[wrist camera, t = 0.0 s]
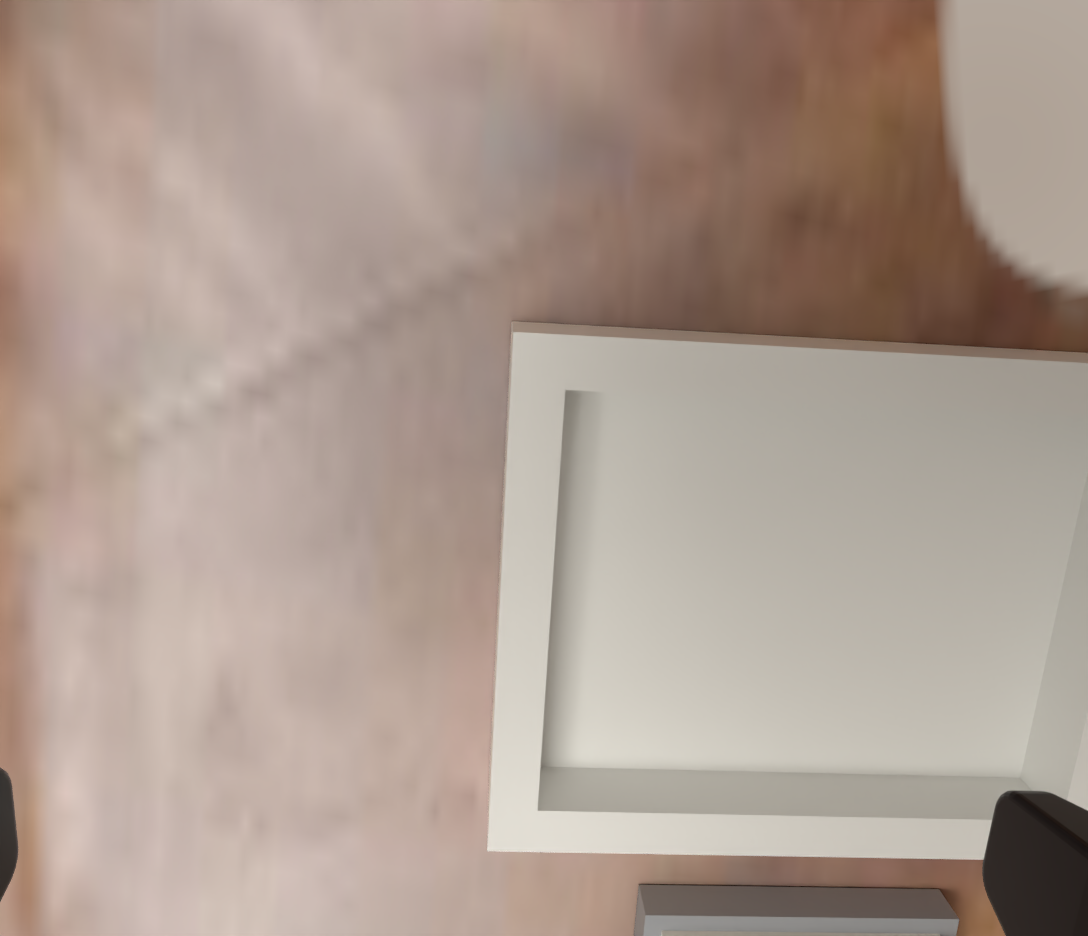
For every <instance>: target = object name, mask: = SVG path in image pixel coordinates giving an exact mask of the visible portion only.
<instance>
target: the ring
mask: <svg viewBox="0 0 1088 936" xmlns="http://www.w3.org/2000/svg"><path fill="white" fill-rule="evenodd" d="M661 936H940V934H914V933H828V932H742V931H662V932H661Z"/></svg>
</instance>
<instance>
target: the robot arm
mask: <svg viewBox="0 0 1088 936" xmlns="http://www.w3.org/2000/svg"><path fill="white" fill-rule="evenodd" d="M17 858H18V840H17V830H16V820H15V811H14V801H13V791H12V784H11V780H10V777H9V775H8V773H7V772H6V771H4V770H3V769H2V768H0V902H1V899H2V897H3V895H4V893H5V891H6V889H7V887H8V885H9V883H10V881H11V879H12V876H13V874H14V871H15V868H16V863H17ZM982 869H983V882H984V886H985V890H986V893H987V895H988V898H989V900H990V902H991V904H992V907H993V909H994V911H995V913H996V915H997V918H998V920H999V922H1000V924H1001V926H1002V929H1003V931H1004V933H1005V935H1006V936H1088V810H1086V809H1084V808H1082V807H1079V806H1077V805H1075V804H1073V803H1071V802H1069V801H1067V800H1065V799H1063V798H1061V797H1059V796H1057V795H1055V794H1053V793H1050V792H1045V791H1019V790H1010V791H1006V792H1005V793H1003V794H1002V795H1000V797H999V798H998V800H997V802H996V805H995V809H994V813H993V818H992V823H991V827H990V832H989V837H988V841H987V846H986V850H985V855H984V860H983V867H982Z"/></svg>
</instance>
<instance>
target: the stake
mask: <svg viewBox="0 0 1088 936" xmlns="http://www.w3.org/2000/svg"><path fill="white" fill-rule="evenodd" d="M958 923H959V918H958V917H957V915H956V914H955V912H954V911H953V909H952V908H951V906H950V905H949V903H948V902H947V900H946V899H945V897H944V896H943V894H942V893H941V891H940V890H939V889H895V888H828V887H761V886H694V885H639V888H638V898H637V908H636V918H635V928H634V936H661V932H662V931H742V932H828V933H914V934H940V936H956V933H957V928H958Z"/></svg>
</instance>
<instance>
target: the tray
mask: <svg viewBox="0 0 1088 936" xmlns="http://www.w3.org/2000/svg"><path fill="white" fill-rule="evenodd" d="M1010 790H1019V791H1045V792H1050V793H1053V794H1055V795H1057V796H1059V797H1061V798H1063V799H1065V800H1067V801H1069V802H1071V803H1073V804H1075V805H1077V806H1079V807H1082V808H1084V809H1086V810H1088V353H1082V352H1064V351H1046V350H1028V349H1010V348H992V347H973V346H955V345H937V344H919V343H901V342H883V341H864V340H846V339H828V338H810V337H792V336H774V335H755V334H737V333H719V332H701V331H683V330H665V329H646V328H628V327H610V326H592V325H574V324H556V323H537V322H519V321H512V322H511V342H510V362H509V383H508V403H507V423H506V443H505V464H504V484H503V504H502V524H501V544H500V565H499V585H498V605H497V625H496V645H495V666H494V686H493V706H492V726H491V747H490V767H489V787H488V836H487V851H502V852H561V853H619V854H677V855H736V856H794V857H852V858H911V859H969V860H984V855H985V850H986V846H987V841H988V837H989V832H990V827H991V823H992V818H993V813H994V809H995V805H996V802H997V800H998V798H999V797H1000V795H1002V794H1003V793H1005V792H1006V791H1010Z"/></svg>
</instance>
